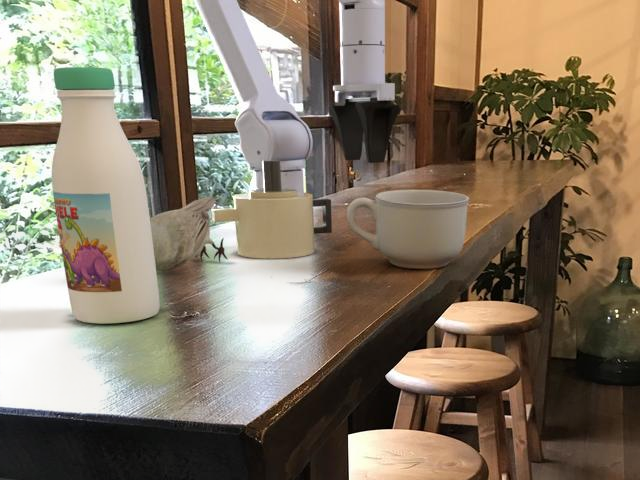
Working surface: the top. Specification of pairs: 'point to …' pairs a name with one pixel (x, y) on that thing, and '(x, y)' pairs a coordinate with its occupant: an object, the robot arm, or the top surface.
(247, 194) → the kettle
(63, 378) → the top surface
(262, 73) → the robot arm
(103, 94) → the milk bottle
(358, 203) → the teacup
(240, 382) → the top surface
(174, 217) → the decorative bird
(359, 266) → the top surface
